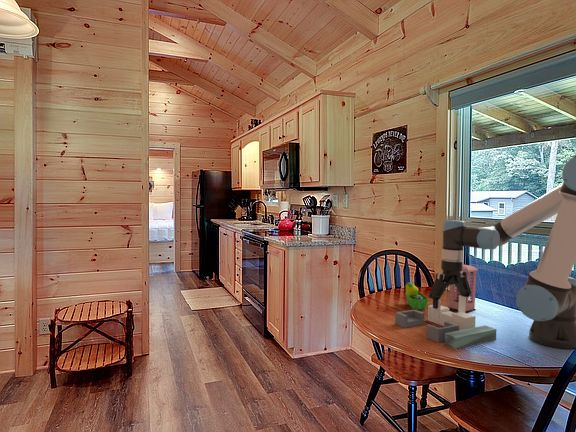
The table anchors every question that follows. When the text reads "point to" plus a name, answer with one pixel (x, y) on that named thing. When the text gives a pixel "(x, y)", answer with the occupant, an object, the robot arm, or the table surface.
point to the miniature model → (455, 303)
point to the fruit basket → (415, 297)
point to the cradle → (417, 318)
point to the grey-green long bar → (470, 336)
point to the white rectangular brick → (452, 318)
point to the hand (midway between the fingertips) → (449, 314)
